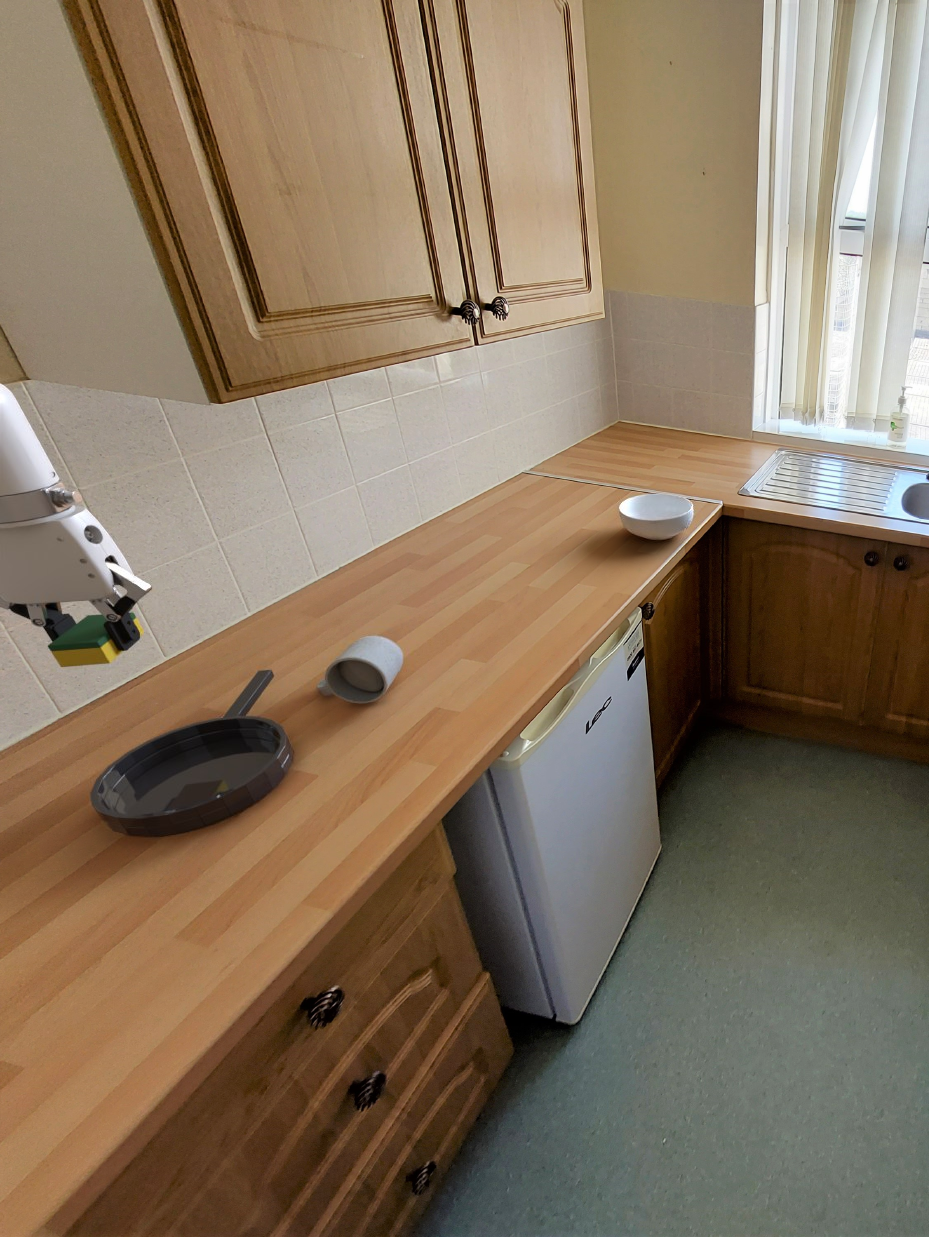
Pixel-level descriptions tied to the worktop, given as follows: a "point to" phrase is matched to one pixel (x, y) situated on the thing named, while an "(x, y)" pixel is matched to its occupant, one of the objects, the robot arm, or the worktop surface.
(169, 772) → the pan
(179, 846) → the worktop surface
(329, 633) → the worktop surface
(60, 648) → the sponge
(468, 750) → the worktop surface
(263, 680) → the pan handle
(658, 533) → the cereal bowl
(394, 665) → the ceramic mug
